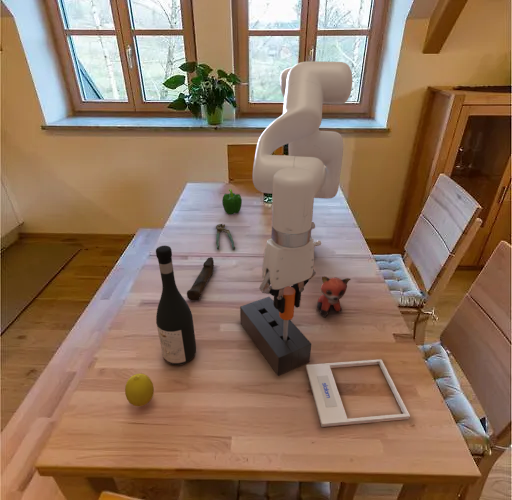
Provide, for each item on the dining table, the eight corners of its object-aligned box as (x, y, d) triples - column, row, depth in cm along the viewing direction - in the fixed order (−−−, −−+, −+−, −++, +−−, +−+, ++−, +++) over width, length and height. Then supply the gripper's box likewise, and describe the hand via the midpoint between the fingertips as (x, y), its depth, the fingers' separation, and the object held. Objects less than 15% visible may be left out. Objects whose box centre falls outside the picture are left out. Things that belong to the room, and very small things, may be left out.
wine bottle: (181, 372, 81) (163, 264, 66) (156, 358, 85) (133, 252, 69) (203, 350, 87) (191, 245, 71) (179, 337, 91) (163, 235, 75)
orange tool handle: (286, 337, 86) (290, 284, 77) (294, 346, 83) (298, 292, 75) (275, 341, 84) (277, 288, 76) (282, 350, 82) (285, 297, 73)
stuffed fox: (338, 294, 106) (343, 260, 99) (347, 319, 96) (353, 284, 90) (312, 294, 106) (316, 260, 99) (319, 320, 96) (324, 284, 90)
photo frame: (306, 364, 82) (381, 358, 83) (305, 367, 82) (380, 361, 84) (322, 423, 69) (410, 415, 71) (321, 426, 70) (409, 418, 71)
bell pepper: (241, 216, 151) (241, 194, 146) (222, 216, 151) (221, 194, 146) (242, 208, 158) (241, 187, 153) (224, 208, 158) (222, 187, 153)
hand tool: (200, 303, 102) (198, 290, 100) (187, 300, 103) (185, 288, 101) (221, 267, 118) (220, 255, 116) (209, 265, 119) (208, 254, 116)
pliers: (235, 250, 127) (235, 247, 127) (217, 251, 127) (216, 248, 126) (230, 225, 144) (230, 222, 143) (214, 226, 143) (214, 223, 142)
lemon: (132, 392, 77) (125, 367, 73) (158, 390, 77) (152, 365, 73) (126, 415, 72) (118, 390, 68) (154, 413, 72) (147, 387, 68)
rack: (268, 313, 98) (269, 296, 95) (309, 361, 84) (311, 343, 81) (240, 323, 95) (239, 306, 92) (277, 376, 80) (278, 357, 77)
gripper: (314, 216, 74) (307, 286, 84) (244, 235, 67) (245, 308, 77) (337, 232, 68) (327, 304, 78) (263, 253, 62) (262, 330, 72)
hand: (286, 305), depth 78 cm, fingers closed on orange tool handle, 3 cm apart
